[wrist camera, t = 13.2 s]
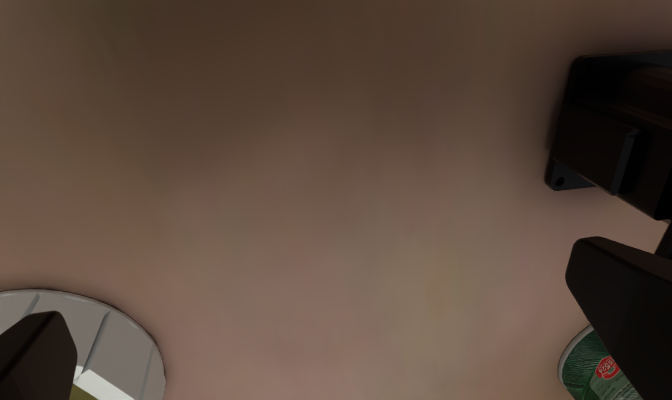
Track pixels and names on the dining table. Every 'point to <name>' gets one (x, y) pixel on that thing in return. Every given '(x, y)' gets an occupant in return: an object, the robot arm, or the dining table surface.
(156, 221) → the dining table surface
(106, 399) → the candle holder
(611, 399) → the canned tomato
